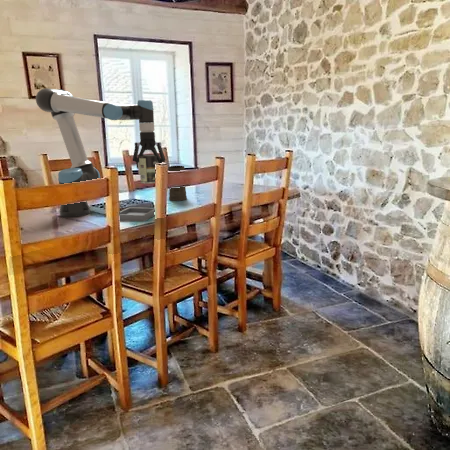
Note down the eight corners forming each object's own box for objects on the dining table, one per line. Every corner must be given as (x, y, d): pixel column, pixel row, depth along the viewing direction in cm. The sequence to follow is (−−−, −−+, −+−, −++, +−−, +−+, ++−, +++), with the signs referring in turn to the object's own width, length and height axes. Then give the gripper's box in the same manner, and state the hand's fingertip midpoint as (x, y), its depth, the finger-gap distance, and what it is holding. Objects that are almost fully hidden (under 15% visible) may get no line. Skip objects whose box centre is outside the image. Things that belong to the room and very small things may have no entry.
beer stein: (188, 200, 232) (186, 166, 227) (170, 201, 230) (168, 167, 224) (184, 196, 247) (182, 164, 241) (167, 197, 244) (165, 165, 239)
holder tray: (114, 220, 190) (113, 214, 189) (129, 212, 205) (128, 207, 204) (144, 221, 186) (144, 215, 186) (157, 213, 201) (157, 208, 201)
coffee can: (162, 180, 210) (161, 154, 207) (155, 183, 201) (154, 156, 197) (145, 180, 212) (143, 154, 209) (137, 183, 203) (135, 156, 199)
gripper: (170, 131, 201) (172, 174, 207) (130, 131, 206) (133, 173, 212) (165, 131, 194) (167, 176, 200) (123, 132, 199) (126, 175, 204)
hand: (149, 175), depth 206 cm, fingers closed on coffee can, 10 cm apart
